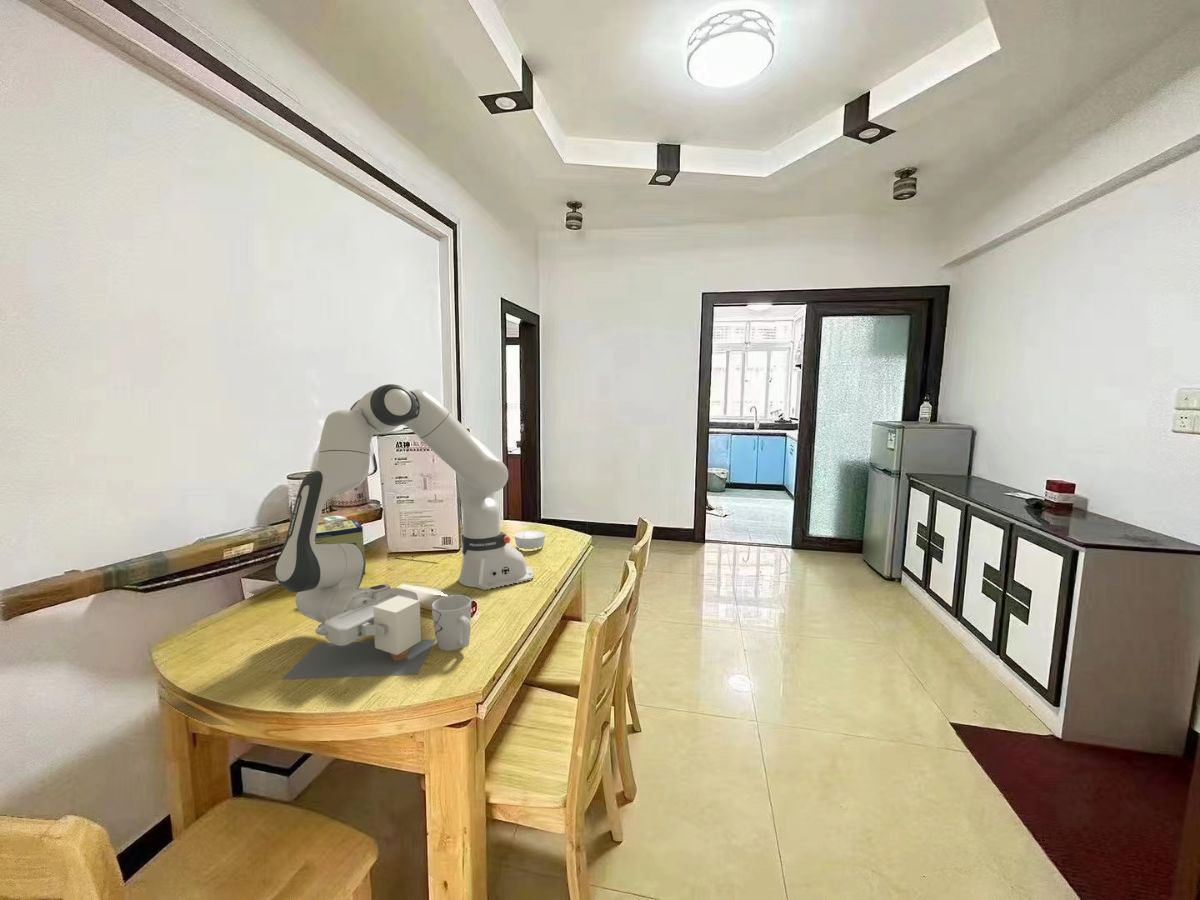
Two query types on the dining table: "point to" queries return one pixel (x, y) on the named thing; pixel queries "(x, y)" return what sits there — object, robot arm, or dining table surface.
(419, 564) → the dining table surface
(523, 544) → the ramekin
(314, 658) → the slate mat
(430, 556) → the dining table surface
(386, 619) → the white upright block
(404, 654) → the orange-brown rounded lump
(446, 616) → the mug
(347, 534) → the protein box
